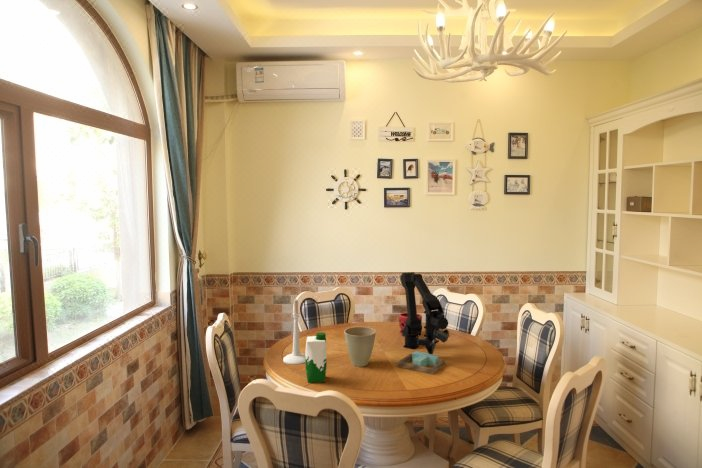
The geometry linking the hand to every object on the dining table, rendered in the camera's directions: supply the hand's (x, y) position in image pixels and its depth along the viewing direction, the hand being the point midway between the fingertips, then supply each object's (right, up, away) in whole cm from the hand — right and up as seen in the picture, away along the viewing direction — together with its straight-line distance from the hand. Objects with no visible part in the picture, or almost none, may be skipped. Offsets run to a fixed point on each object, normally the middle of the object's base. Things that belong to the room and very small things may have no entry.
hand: (430, 355), depth 220 cm
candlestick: (-66, -2, -2) cm, 66 cm away
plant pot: (-35, -2, -8) cm, 36 cm away
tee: (-6, -2, -9) cm, 11 cm away
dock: (-6, -2, -9) cm, 11 cm away
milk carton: (-54, -4, -26) cm, 60 cm away
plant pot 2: (-5, +1, +39) cm, 40 cm away
